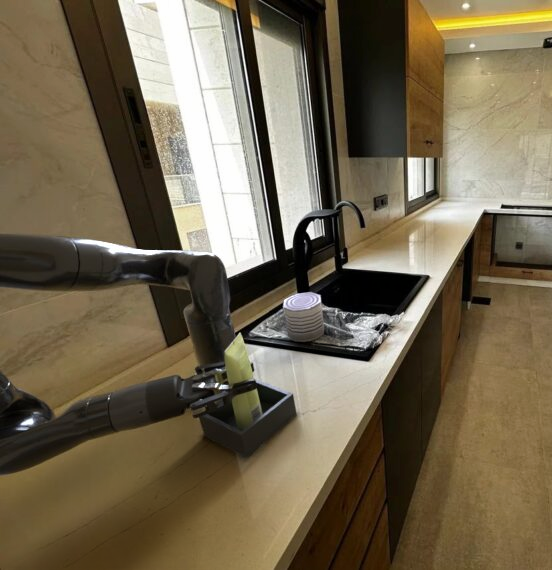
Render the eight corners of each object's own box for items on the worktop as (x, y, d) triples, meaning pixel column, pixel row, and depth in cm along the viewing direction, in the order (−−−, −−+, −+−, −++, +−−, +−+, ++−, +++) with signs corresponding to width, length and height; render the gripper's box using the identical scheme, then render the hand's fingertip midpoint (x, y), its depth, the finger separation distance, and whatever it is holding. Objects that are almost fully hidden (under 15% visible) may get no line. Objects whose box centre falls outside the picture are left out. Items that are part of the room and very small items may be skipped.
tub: (204, 436, 67) (197, 413, 65) (256, 398, 78) (252, 377, 75) (247, 458, 62) (240, 435, 60) (296, 414, 73) (293, 393, 70)
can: (332, 329, 109) (328, 296, 105) (307, 345, 99) (302, 309, 95) (306, 322, 113) (301, 290, 109) (280, 337, 104) (274, 302, 99)
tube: (231, 421, 69) (212, 341, 62) (256, 409, 73) (240, 331, 66) (243, 435, 66) (224, 351, 59) (268, 421, 69) (252, 341, 62)
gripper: (135, 410, 51) (254, 378, 59) (151, 364, 63) (249, 342, 71) (149, 446, 54) (261, 411, 62) (162, 395, 66) (255, 371, 74)
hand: (254, 374), depth 66 cm, fingers closed on tube, 5 cm apart
